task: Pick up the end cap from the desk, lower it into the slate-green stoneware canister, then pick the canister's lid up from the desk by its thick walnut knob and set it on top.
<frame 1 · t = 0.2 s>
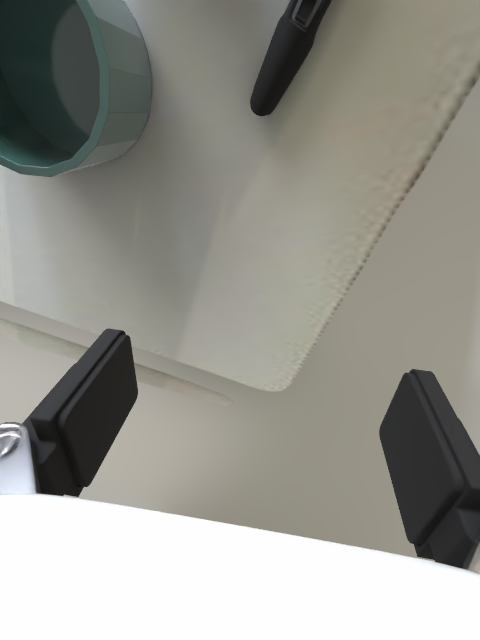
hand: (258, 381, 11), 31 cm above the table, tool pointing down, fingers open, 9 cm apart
canister: (73, 73, 34), on the table
electric trimmer: (304, 21, 29), on the table
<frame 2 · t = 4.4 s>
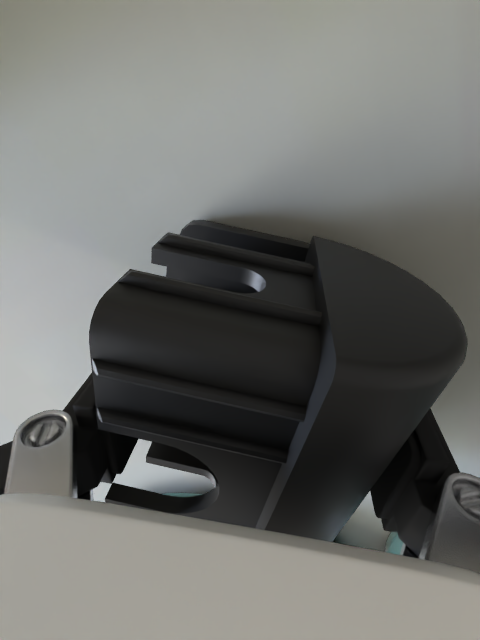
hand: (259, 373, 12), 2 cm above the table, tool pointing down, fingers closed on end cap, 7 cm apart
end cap: (263, 344, 13), on the table, touching gripper
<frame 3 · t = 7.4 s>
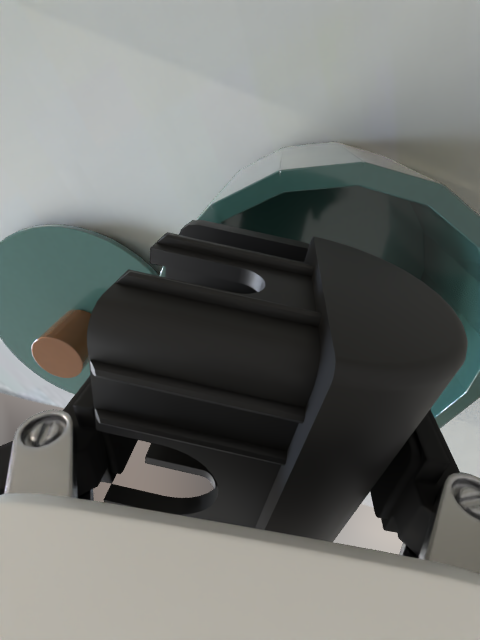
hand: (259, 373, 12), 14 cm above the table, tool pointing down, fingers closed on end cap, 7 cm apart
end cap: (263, 344, 13), point 12 cm above the table, touching gripper
canister: (308, 272, 24), on the table
lid: (88, 325, 29), point 1 cm above the table
when the fingers open (6 cm above the table, at t = 10.2 s): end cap drops 4 cm, resting on canister.
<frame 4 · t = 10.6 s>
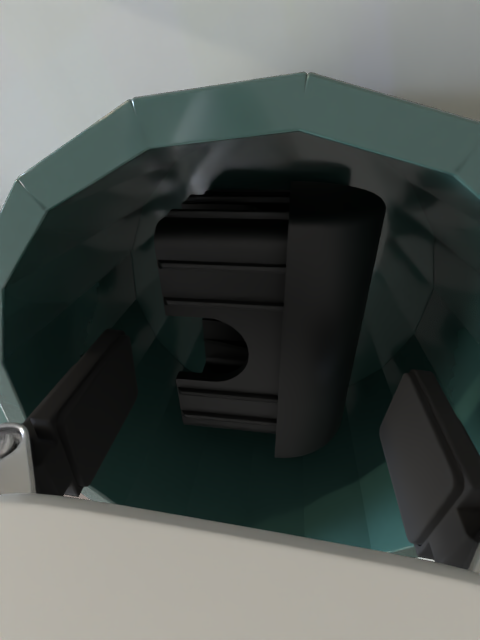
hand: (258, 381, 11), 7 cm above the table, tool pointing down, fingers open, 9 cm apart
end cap: (275, 280, 17), resting on canister
canister: (273, 289, 18), on the table
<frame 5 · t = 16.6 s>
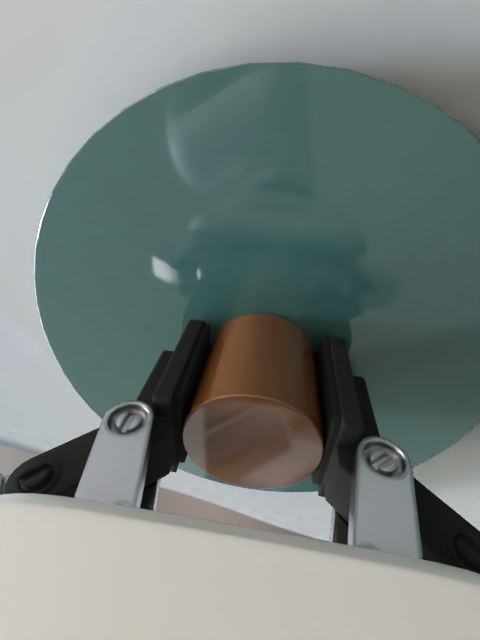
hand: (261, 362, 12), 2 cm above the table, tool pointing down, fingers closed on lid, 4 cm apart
lid: (263, 348, 13), point 1 cm above the table, touching gripper
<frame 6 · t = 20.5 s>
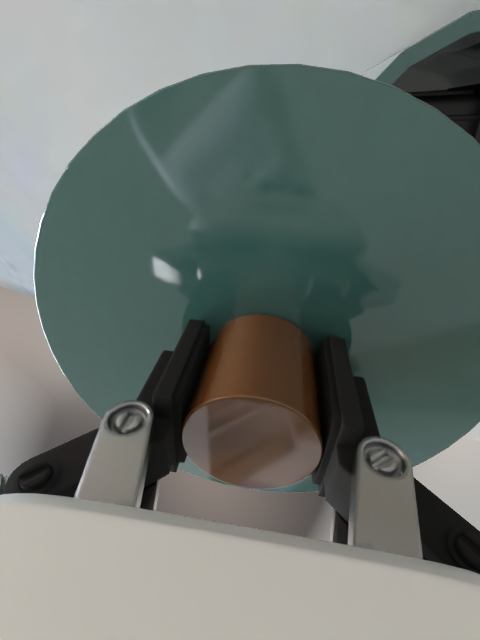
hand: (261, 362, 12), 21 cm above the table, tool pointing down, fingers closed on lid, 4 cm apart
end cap: (417, 165, 26), resting on canister
canister: (413, 173, 27), on the table
lid: (262, 348, 13), point 20 cm above the table, touching gripper
when the fingers open (10 cm above the table, at t = 24.5 s): lid stays where it is, resting on canister.
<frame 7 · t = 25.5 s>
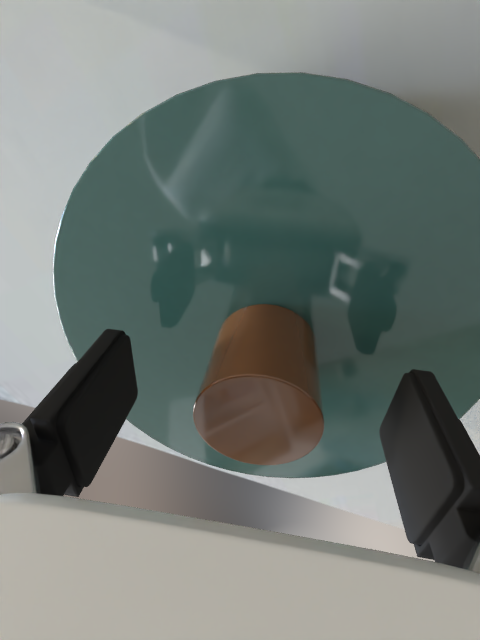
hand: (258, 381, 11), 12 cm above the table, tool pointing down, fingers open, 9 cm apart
lid: (266, 337, 14), point 9 cm above the table, touching canister
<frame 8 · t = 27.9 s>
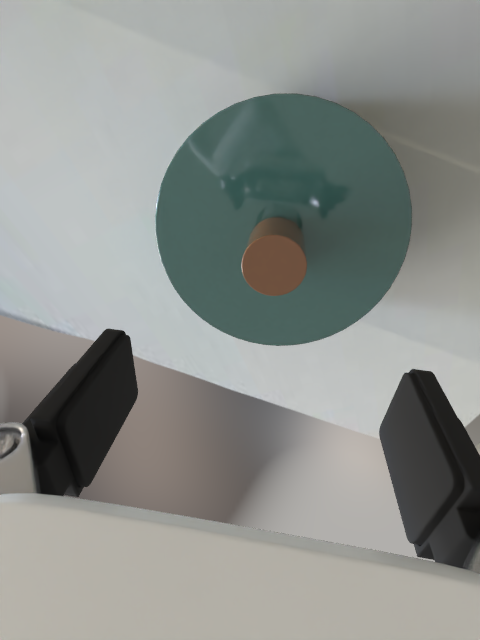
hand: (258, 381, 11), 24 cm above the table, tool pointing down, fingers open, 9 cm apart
lid: (276, 242, 24), point 9 cm above the table, touching canister
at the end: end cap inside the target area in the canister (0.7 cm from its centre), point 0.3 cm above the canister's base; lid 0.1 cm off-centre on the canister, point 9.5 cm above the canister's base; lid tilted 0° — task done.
